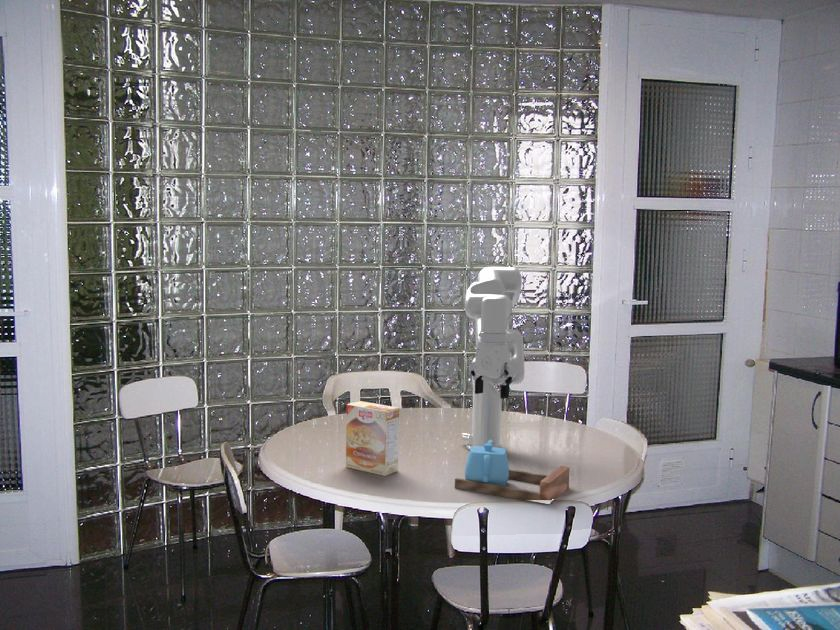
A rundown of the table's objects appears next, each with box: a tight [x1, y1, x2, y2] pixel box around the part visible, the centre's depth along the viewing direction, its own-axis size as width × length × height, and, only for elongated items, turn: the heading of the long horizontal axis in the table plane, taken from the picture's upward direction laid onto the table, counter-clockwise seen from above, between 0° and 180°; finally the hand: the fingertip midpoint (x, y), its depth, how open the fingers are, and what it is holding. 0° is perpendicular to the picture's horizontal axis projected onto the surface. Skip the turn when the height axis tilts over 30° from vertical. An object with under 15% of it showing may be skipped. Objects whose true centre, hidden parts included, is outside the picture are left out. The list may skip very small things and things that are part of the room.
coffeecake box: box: [345, 400, 400, 477], centre depth 237 cm, size 15×7×20 cm, turn 56°
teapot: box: [464, 440, 510, 487], centre depth 226 cm, size 12×18×12 cm
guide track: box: [454, 465, 570, 501], centre depth 223 cm, size 28×17×6 cm, turn 62°
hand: (491, 395), depth 234 cm, fingers open, 9 cm apart
